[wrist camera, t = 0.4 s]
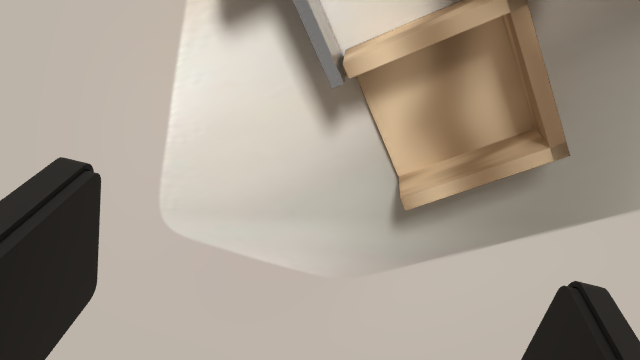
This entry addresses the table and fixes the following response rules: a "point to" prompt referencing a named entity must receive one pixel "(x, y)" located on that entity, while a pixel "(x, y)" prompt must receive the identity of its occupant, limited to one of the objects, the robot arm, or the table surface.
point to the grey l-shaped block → (322, 40)
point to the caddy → (460, 98)
